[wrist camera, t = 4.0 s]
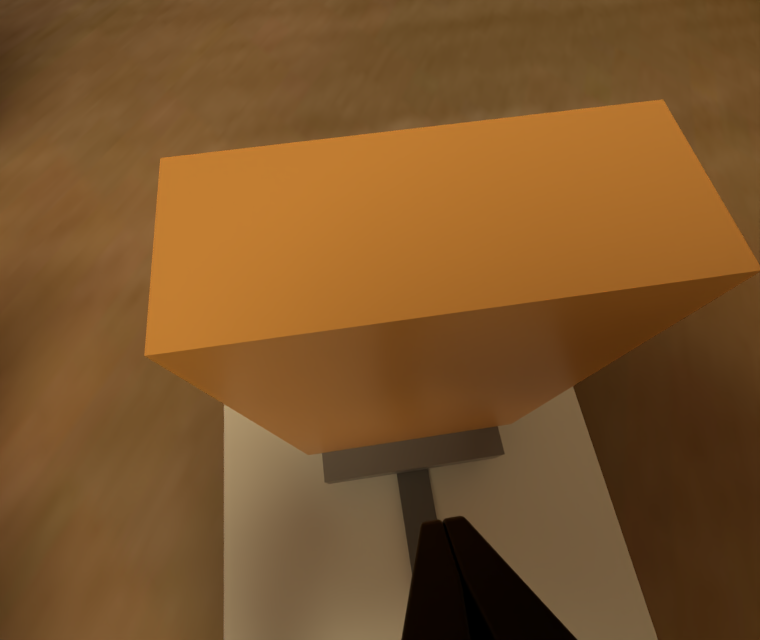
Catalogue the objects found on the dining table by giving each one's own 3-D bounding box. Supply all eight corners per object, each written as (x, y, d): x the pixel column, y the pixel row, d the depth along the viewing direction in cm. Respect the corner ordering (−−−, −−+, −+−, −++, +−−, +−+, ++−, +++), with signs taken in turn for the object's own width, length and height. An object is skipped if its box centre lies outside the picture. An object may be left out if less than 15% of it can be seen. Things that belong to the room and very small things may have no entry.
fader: (507, 456, 13) (807, 345, 4) (316, 486, 13) (137, 445, 4) (477, 338, 15) (637, 55, 5) (306, 362, 14) (164, 108, 5)
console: (679, 783, 12) (725, 827, 10) (243, 870, 11) (220, 930, 10) (496, 205, 20) (505, 179, 18) (236, 238, 19) (222, 214, 17)
